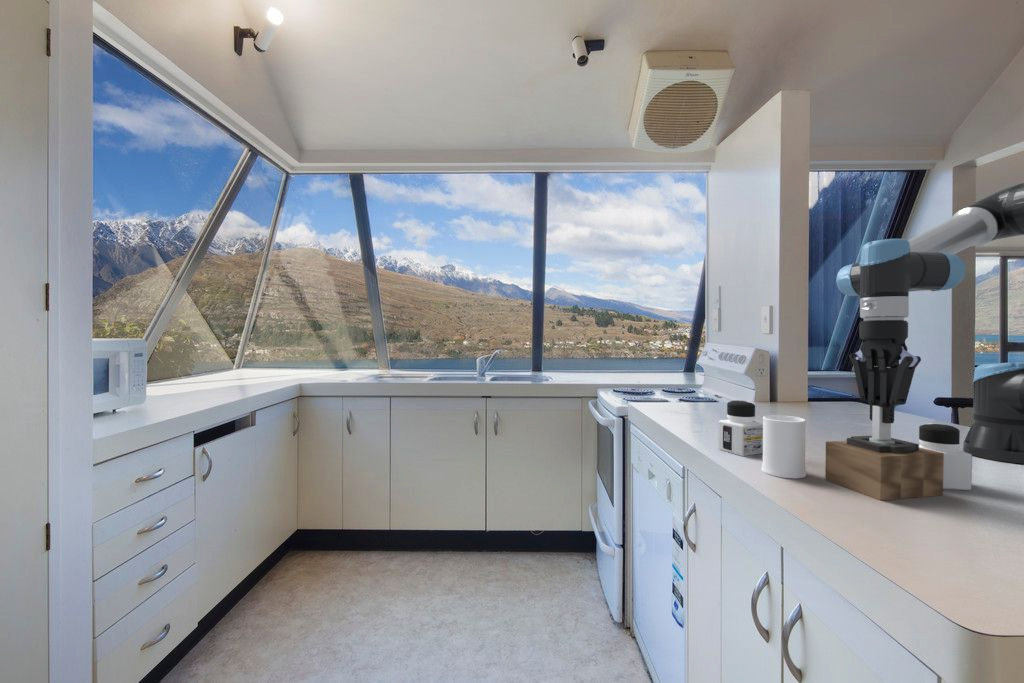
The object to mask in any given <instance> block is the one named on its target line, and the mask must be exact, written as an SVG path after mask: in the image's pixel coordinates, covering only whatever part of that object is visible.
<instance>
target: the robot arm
mask: <svg viewBox="0 0 1024 683" xmlns="http://www.w3.org/2000/svg"><path fill="white" fill-rule="evenodd" d="M1018 236H1024V183H1018V184H1014V185H1012V186H1008V187H1006V188H1004V189H1003V188H1002V189H1001V190H999V191H996V192H994V193H993V194H990V195H987V196H985V197H984V198H982V199H980V200H977V201H976V202H973V203H971V204H970V205H968V206H966V207H964V208H962V209H959V210H958V211H957V212H955V213H954V214H953V215H952V216H951V218H950V219H949V220H947V221H945V222H943V223H941V224H939V225H937V226H935V227H933V228H931V229H928V230H926V231H925V232H923V233H921V234H919V235H916V236H914V237H913V238H910V239H908V240H907V239H905V238H886V239H885V238H884V239H878V240H873V241H868V242H866V243H865V244H864V245H863V246H862V247H861V250H860V251H861V252H860V261H859V262H858V263H857V262H854V263H851V264H848V265H845V266H843V267H842V268H841V269H839V271H838V272H837V275H836V278H835V279H836V280H835V281H836V286H837V288H838V290H839V292H840V293H842V294H843V295H845V296H849V297H851V296H852V297H857V296H858V297H860V299H859V318H861V319H863V320H861V321H860V322H859V332H858V334H859V335H858V336H859V339H861V340H862V341H861V345H860V348H859V350H858V351H856V352H855V353H849V355H848V357H849V360H850V361H851V363H852V365H853V369H854V374H855V375H854V376H855V381H856V385H857V391H858V395H859V399H860V400H861V401H864V402H867V403H868V405H869V420H870V421H871V424H872V426H871V436H872V438H873V439H878V440H887V439H891V438H892V424H894V422H895V408H896V407H897V406H904V405H906V403H907V400H908V397H909V393H910V389H911V387H912V386H911V385H912V381H913V378H914V374H915V371H916V369H917V366H918V365H919V364H920V363H921V361H922V358H921V357H920V356H919V355H913V354H912V353H910V352H909V351H908V347H907V344H906V340H907V339H908V338H909V321H908V320H905V318H908V317H909V314H910V313H909V307H910V306H909V301H910V300H909V299H910V298H909V297H910V296H909V295H910V292H911V293H912V292H920V291H921V292H922V291H923V292H924V291H930V292H939V291H946V290H947V291H948V290H951V289H953V288H955V287H956V286H958V285H959V284H960V283H962V281H963V280H964V278H965V275H966V264H965V262H964V260H963V259H962V258H961V257H959V256H958V255H957V254H958V253H959V252H961V251H963V250H966V249H968V248H970V247H980V246H983V245H985V244H988V243H990V242H993V241H996V240H1000V239H1007V238H1011V237H1018ZM972 383H973V403H972V404H973V406H972V407H973V410H972V411H973V412H972V413H973V415H972V416H973V420H972V424H971V425H970V428H969V430H968V432H967V434H966V437H965V438H964V440H963V443H962V451H963V452H966V453H969V454H971V455H972V456H974V457H979V458H982V459H983V458H984V459H987V460H992V461H1000V462H1004V463H1005V462H1007V463H1013V464H1023V465H1024V361H1022V362H1002V363H1001V362H1000V363H999V362H998V363H997V362H995V363H983V364H979V365H977V367H975V369H974V375H973V380H972Z"/></svg>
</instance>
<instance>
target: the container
mask: <svg viewBox="0 0 1024 683" xmlns="http://www.w3.org/2000/svg"><path fill="white" fill-rule="evenodd" d="M726 404H727V405H726V418H727V419H720V420H719V421H718V443H717V444H718V450H719V451H724V452H727V453H730V454H732V455H733V454H734V455H736V456H740V457H745V456H747V457H748V456H752V455H753V456H754V455H759V454H763V422H760V421H755V420H756V404H755V403H754V402H751V401H748V400H737V399H736V400H731V401H728V402H727V403H726Z"/></svg>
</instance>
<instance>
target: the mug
mask: <svg viewBox="0 0 1024 683" xmlns="http://www.w3.org/2000/svg"><path fill="white" fill-rule="evenodd" d="M762 423H763V453H762V465H761V472H763V473H765V474H766V475H769V476H771V477H772V476H773V477H777V478H783V479H794V480H796V479H802V478H806V477H807V472H806V471H807V470H806V428H807V427H806V419H805V418H802V417H798V416H792V415H791V416H790V415H784V414H783V415H781V414H769V415H764V416H763V417H762Z"/></svg>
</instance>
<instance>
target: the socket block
mask: <svg viewBox="0 0 1024 683" xmlns="http://www.w3.org/2000/svg"><path fill="white" fill-rule="evenodd" d="M869 438H872V435H859V436H858V435H857V436H856V435H854V436H850V437H846V440H831V441H825V467H824V469H825V472H824V473H825V481H827V482H830V483H832V484H836V485H838V486H841V487H843V488H846V489H849V490H852V491H854V492H857V493H859V494H863V495H864V496H867V497H871V498H873V499H876V500H878V501H887V500H891V501H892V500H899V499H914V498H923V497H924V498H925V497H936V496H938V497H939V496H944V489H943V461H944V453H941V452H937V451H933V450H928V449H924V448H920V447H919V445H920V443H915V442H910V441H906V440H902V439H899V438H893V437H891V439H890V440H894V441H895V444H887V445H883V444H879V443H874V442H870V441H869Z"/></svg>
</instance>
